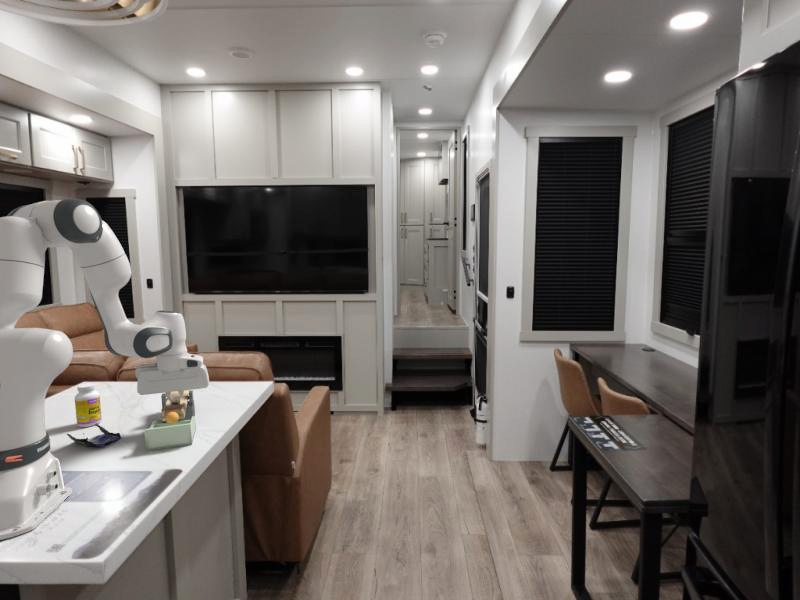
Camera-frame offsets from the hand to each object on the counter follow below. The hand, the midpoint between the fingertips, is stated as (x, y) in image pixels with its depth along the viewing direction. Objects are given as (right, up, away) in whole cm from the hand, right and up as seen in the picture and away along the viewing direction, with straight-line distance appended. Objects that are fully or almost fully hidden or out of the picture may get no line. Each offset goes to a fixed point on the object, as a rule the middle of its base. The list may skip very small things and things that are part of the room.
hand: (175, 404), depth 145 cm
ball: (+3, -2, -8) cm, 9 cm away
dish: (+4, -8, -10) cm, 13 cm away
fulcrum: (-1, -6, +5) cm, 8 cm away
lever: (-2, -2, +5) cm, 6 cm away
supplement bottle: (-29, -7, +3) cm, 30 cm away
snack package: (-17, -9, -12) cm, 23 cm away
